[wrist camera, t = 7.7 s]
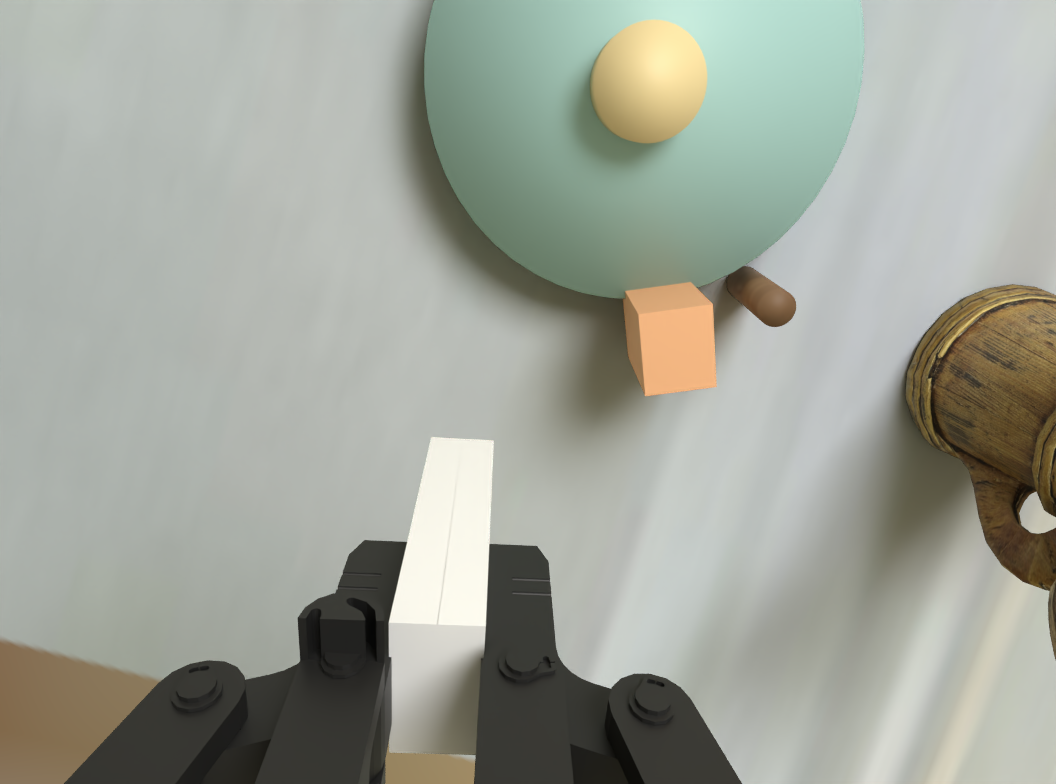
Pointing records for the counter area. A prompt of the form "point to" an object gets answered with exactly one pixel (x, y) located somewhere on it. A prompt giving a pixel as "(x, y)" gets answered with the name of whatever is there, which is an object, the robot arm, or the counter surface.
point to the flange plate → (642, 144)
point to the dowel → (761, 296)
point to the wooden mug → (997, 416)
